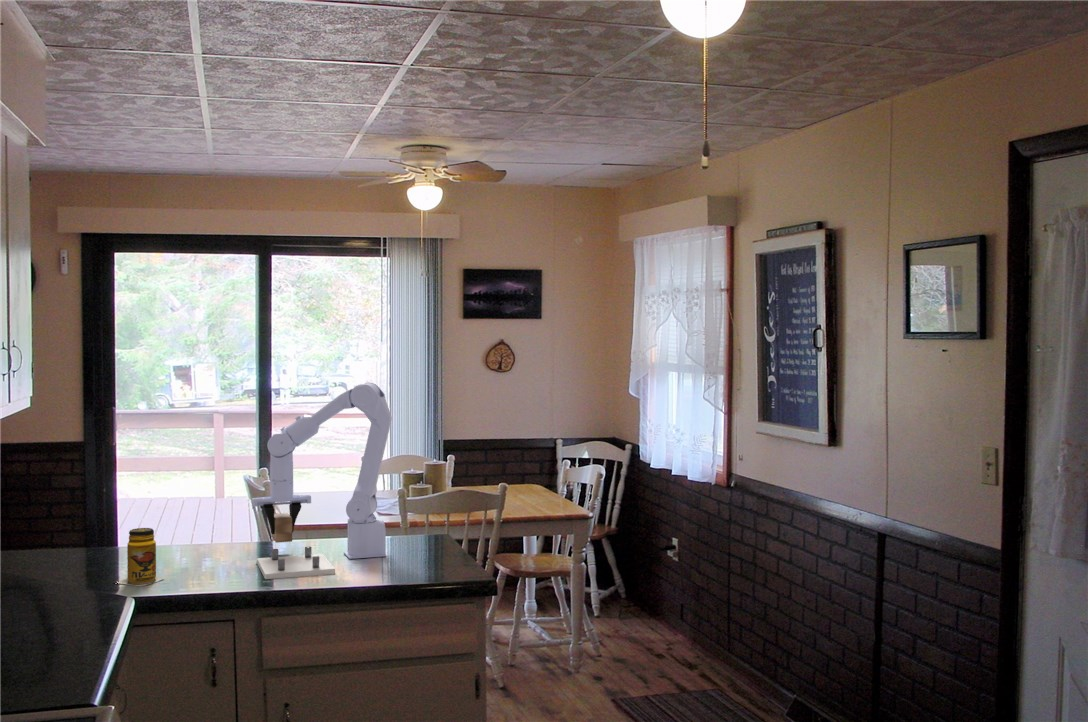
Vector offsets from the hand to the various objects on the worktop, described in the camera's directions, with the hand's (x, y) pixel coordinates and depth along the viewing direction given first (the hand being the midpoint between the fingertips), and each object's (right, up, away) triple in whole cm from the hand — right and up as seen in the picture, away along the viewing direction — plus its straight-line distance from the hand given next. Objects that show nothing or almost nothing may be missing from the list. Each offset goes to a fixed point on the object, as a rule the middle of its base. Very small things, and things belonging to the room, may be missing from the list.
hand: (282, 532), depth 261 cm
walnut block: (0, -2, 0) cm, 2 cm away
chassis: (+7, -6, -15) cm, 18 cm away
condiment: (-25, -6, -29) cm, 39 cm away
